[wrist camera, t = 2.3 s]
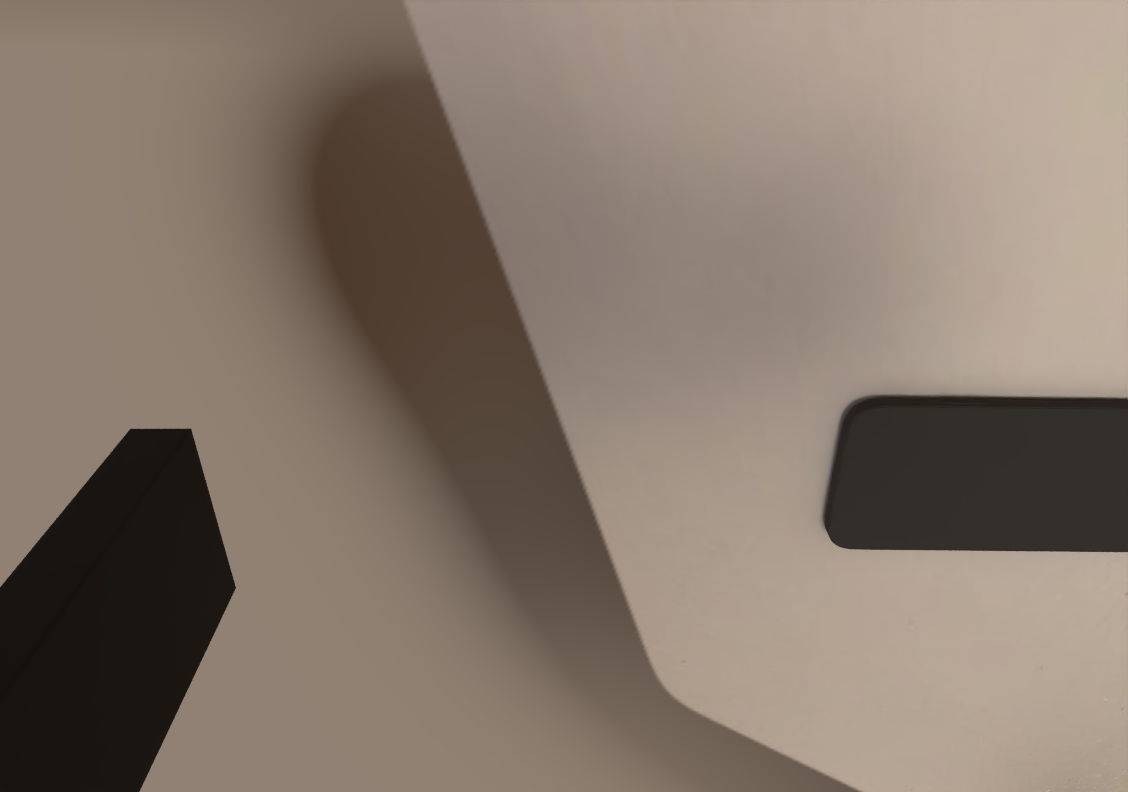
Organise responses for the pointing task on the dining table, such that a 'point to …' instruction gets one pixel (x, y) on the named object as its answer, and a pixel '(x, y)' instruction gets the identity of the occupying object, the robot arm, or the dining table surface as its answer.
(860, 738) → the dining table surface
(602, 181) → the dining table surface
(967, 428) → the phone
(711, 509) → the dining table surface
